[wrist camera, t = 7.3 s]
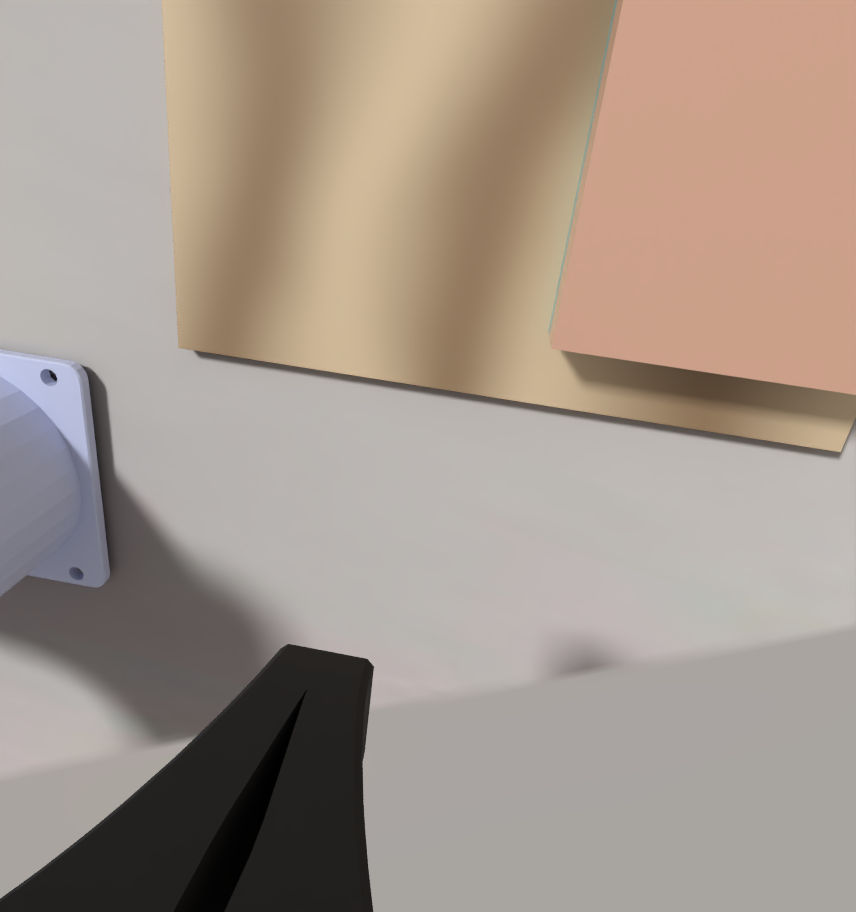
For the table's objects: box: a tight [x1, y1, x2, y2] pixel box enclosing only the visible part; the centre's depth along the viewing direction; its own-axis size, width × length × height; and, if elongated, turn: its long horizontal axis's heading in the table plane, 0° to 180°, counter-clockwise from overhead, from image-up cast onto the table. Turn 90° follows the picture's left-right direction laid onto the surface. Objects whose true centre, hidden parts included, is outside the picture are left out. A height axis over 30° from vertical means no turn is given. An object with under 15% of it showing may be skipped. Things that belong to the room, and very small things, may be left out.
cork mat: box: [162, 0, 856, 452], centre depth 14 cm, size 18×18×1 cm
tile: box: [548, 0, 856, 395], centre depth 14 cm, size 2×8×7 cm
